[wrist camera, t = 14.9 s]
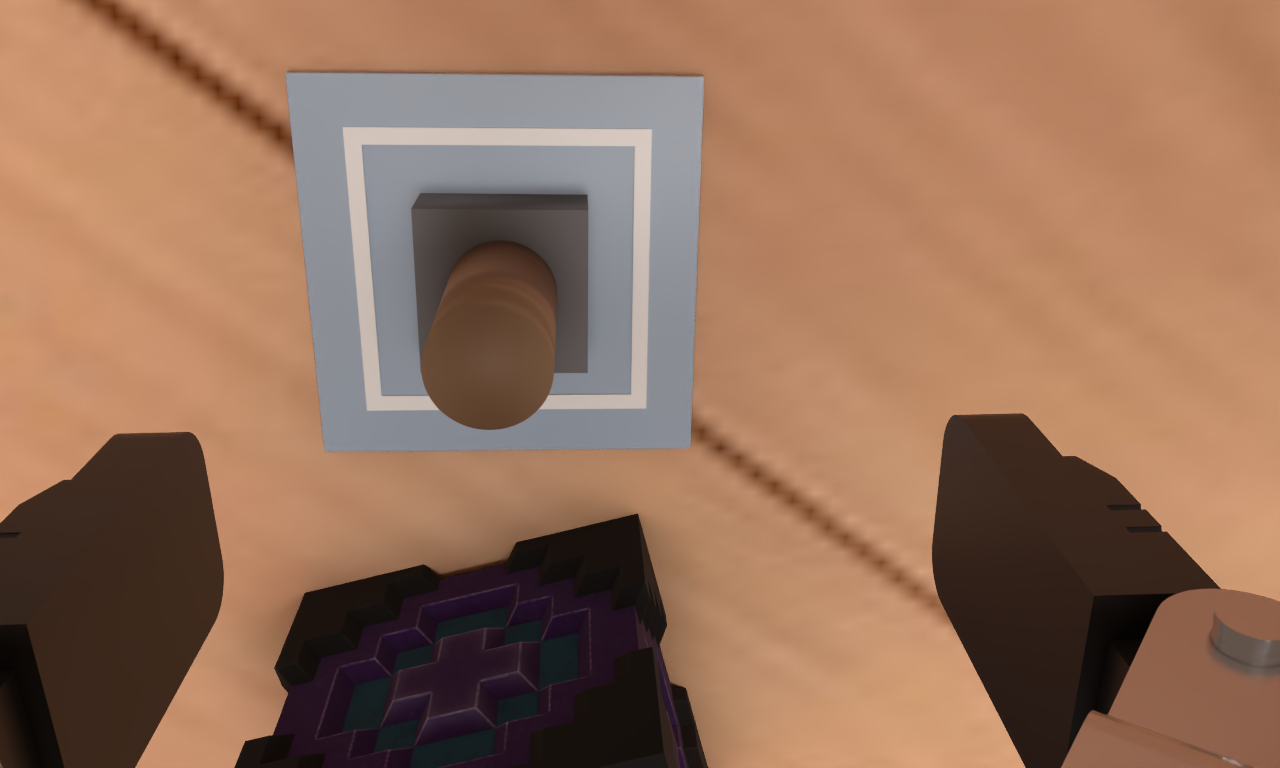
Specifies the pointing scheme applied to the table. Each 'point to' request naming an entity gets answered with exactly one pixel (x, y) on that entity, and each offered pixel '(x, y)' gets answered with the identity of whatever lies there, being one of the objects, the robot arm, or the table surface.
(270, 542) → the table surface
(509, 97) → the mat
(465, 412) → the stamp
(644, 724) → the energy cube
